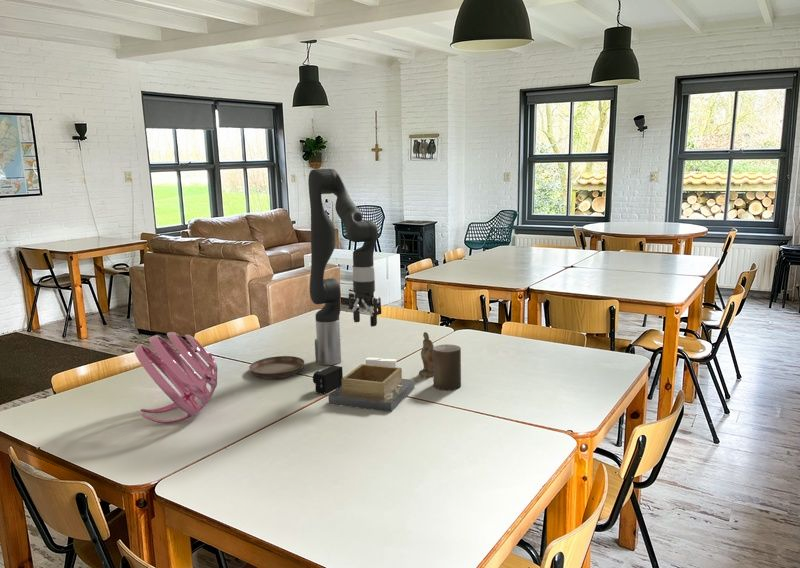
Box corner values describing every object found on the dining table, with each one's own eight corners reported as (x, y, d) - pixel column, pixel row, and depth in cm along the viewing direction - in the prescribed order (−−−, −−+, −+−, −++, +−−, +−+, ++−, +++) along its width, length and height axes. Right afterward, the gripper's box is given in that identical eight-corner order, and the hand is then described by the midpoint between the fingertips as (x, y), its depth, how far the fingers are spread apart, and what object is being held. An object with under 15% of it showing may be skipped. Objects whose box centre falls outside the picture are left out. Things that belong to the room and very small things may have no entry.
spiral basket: (94, 376, 179) (172, 314, 186) (112, 369, 206) (180, 315, 213) (160, 449, 183) (235, 385, 189) (169, 433, 210) (235, 378, 216)
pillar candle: (459, 391, 215) (459, 348, 212) (431, 389, 217) (430, 347, 214) (462, 381, 225) (462, 340, 222) (435, 380, 226) (435, 339, 224)
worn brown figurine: (427, 384, 230) (419, 339, 224) (417, 380, 234) (409, 336, 228) (449, 370, 237) (442, 326, 231) (439, 366, 241) (432, 323, 235)
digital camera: (330, 383, 227) (330, 364, 225) (343, 385, 224) (342, 366, 222) (312, 392, 218) (311, 372, 216) (325, 394, 215) (324, 375, 214)
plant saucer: (239, 379, 233) (239, 371, 232) (264, 362, 253) (264, 354, 252) (291, 382, 228) (291, 374, 227) (312, 365, 248) (312, 356, 247)
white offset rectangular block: (405, 373, 236) (405, 358, 235) (382, 380, 228) (382, 365, 227) (378, 364, 247) (378, 350, 246) (356, 371, 239) (355, 357, 238)
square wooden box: (328, 404, 206) (327, 380, 205) (356, 381, 227) (355, 360, 225) (391, 411, 199) (390, 387, 197) (414, 388, 219) (414, 366, 217)
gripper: (342, 278, 221) (343, 322, 224) (370, 283, 211) (371, 329, 214) (358, 274, 226) (359, 318, 229) (386, 279, 216) (387, 325, 219)
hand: (365, 324), depth 222 cm, fingers open, 8 cm apart
